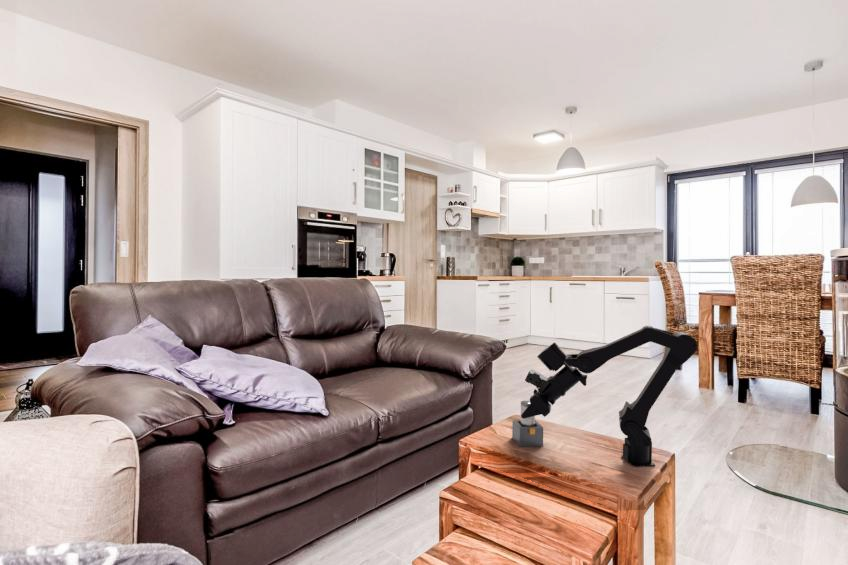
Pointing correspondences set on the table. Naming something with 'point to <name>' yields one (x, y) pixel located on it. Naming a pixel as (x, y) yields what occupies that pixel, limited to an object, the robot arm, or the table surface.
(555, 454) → the table surface
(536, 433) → the stand collar
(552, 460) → the table surface
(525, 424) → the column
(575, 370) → the robot arm
